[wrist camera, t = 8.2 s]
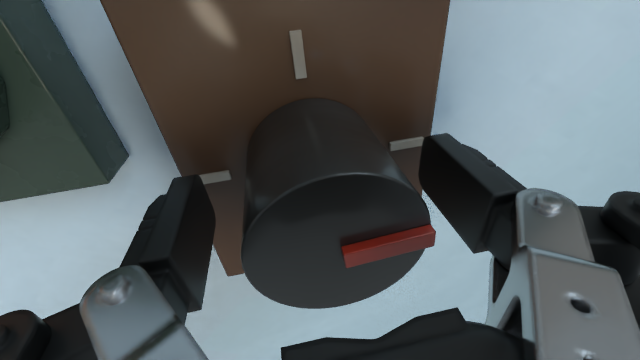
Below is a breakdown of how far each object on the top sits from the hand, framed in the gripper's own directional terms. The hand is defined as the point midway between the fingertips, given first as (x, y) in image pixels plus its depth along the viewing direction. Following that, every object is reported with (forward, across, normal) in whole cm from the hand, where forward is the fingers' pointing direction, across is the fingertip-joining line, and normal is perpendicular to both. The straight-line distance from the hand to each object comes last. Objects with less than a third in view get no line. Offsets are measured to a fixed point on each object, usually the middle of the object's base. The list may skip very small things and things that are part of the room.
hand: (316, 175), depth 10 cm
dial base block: (+4, 0, 0) cm, 4 cm away
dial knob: (+1, 0, 0) cm, 1 cm away
